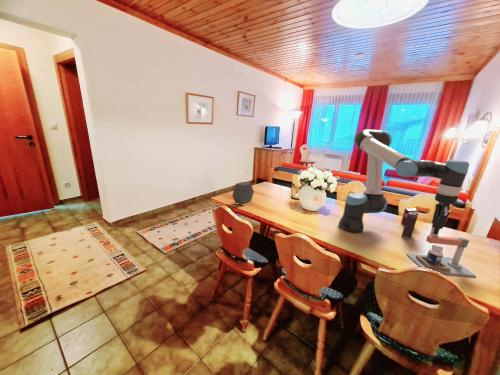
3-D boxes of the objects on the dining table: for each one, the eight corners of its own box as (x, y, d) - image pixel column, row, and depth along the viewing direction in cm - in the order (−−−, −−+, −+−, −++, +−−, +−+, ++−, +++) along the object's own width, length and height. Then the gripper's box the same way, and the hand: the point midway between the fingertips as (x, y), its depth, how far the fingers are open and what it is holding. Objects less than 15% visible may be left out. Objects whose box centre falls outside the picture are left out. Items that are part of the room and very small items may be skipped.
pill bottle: (422, 260, 104) (427, 243, 102) (431, 260, 105) (437, 243, 102) (431, 267, 99) (437, 249, 96) (442, 267, 100) (448, 250, 97)
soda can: (415, 227, 144) (420, 211, 140) (403, 226, 145) (408, 210, 142) (409, 223, 150) (414, 208, 147) (398, 222, 152) (402, 206, 148)
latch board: (425, 272, 97) (432, 250, 94) (406, 254, 110) (412, 235, 107) (475, 277, 95) (484, 255, 92) (450, 258, 109) (457, 239, 105)
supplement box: (410, 239, 127) (417, 216, 122) (401, 236, 130) (407, 213, 125) (412, 235, 133) (418, 212, 128) (403, 232, 136) (409, 210, 132)
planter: (248, 193, 184) (241, 176, 171) (255, 195, 180) (248, 178, 166) (238, 207, 176) (229, 191, 162) (245, 210, 171) (237, 193, 158)
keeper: (468, 247, 97) (471, 241, 96) (430, 244, 99) (432, 238, 98) (462, 243, 100) (464, 237, 100) (425, 240, 102) (426, 234, 101)
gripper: (463, 199, 88) (446, 247, 95) (453, 192, 99) (438, 235, 106) (440, 195, 92) (425, 242, 98) (433, 189, 102) (420, 231, 109)
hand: (432, 238), depth 102 cm, fingers closed
